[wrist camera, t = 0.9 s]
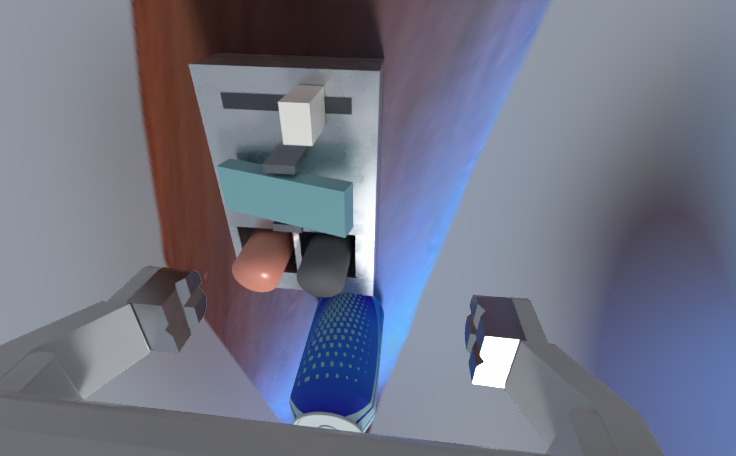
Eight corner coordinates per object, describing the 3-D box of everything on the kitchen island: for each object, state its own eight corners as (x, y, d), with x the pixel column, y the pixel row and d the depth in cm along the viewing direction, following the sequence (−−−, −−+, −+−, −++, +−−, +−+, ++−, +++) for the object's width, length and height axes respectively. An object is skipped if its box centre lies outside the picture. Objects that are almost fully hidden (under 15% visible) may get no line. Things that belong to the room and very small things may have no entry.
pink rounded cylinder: (252, 217, 37) (227, 253, 32) (294, 220, 36) (276, 257, 31) (259, 250, 39) (237, 290, 34) (298, 254, 39) (282, 293, 34)
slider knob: (296, 85, 26) (277, 101, 22) (323, 86, 26) (309, 103, 22) (300, 123, 28) (283, 144, 24) (325, 124, 28) (312, 146, 24)
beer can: (324, 325, 49) (291, 452, 36) (314, 279, 44) (273, 406, 31) (385, 327, 48) (375, 459, 35) (383, 281, 43) (369, 412, 30)
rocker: (229, 158, 30) (216, 165, 28) (352, 182, 26) (344, 191, 25) (238, 200, 32) (226, 209, 31) (353, 226, 29) (345, 238, 27)
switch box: (218, 52, 30) (161, 74, 23) (384, 58, 29) (375, 82, 22) (259, 255, 43) (230, 308, 36) (376, 264, 42) (369, 321, 35)
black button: (310, 221, 36) (294, 259, 31) (353, 224, 36) (344, 263, 31) (313, 255, 39) (298, 295, 34) (354, 258, 38) (345, 299, 33)
